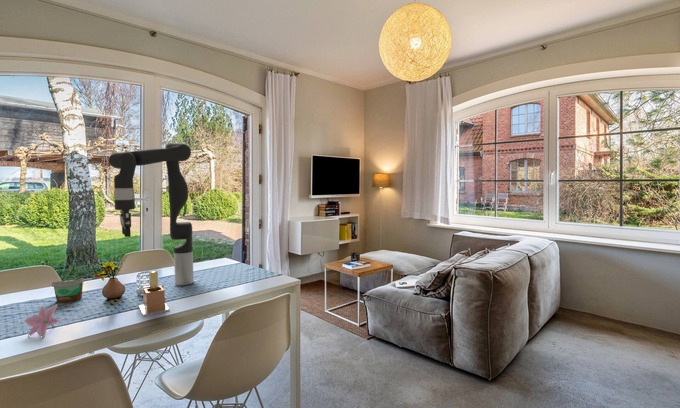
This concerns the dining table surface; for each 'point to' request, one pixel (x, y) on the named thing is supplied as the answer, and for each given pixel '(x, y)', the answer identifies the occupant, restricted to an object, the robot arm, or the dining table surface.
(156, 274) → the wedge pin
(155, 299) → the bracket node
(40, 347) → the dining table surface
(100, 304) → the dining table surface
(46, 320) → the lily
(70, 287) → the food container
